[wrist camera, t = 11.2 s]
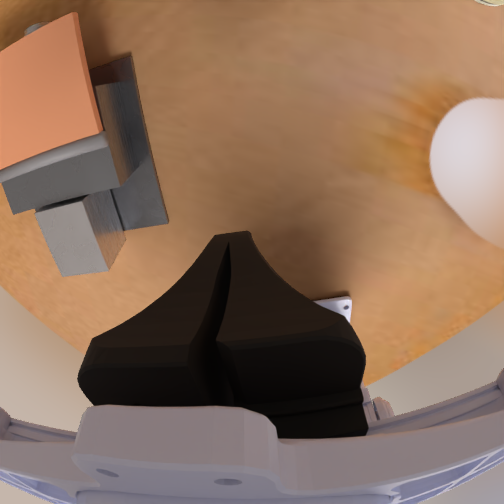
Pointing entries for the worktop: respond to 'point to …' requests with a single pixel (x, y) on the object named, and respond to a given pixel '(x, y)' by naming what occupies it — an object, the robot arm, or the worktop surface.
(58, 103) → the plate
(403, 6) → the worktop surface
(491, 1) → the coffee can
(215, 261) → the robot arm
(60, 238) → the hitch pin
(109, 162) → the hitch block
